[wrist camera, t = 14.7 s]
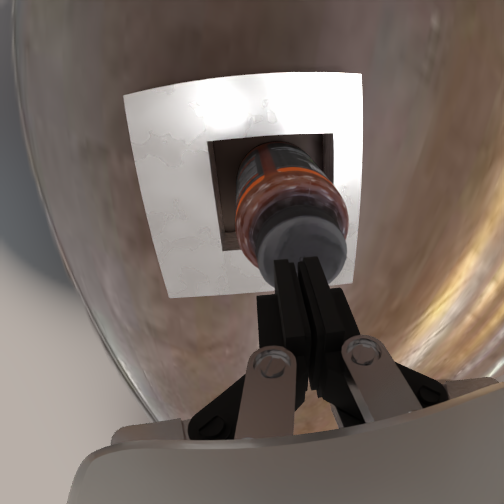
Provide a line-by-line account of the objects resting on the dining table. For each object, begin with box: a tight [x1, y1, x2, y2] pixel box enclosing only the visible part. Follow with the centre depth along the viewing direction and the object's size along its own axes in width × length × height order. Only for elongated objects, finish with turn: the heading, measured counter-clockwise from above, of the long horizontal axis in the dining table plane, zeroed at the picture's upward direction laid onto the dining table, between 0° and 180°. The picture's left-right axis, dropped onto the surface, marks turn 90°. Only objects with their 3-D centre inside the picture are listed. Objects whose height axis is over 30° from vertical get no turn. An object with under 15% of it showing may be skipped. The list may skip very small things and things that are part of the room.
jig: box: [123, 72, 363, 298], centre depth 21 cm, size 15×16×3 cm
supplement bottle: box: [235, 142, 349, 288], centre depth 18 cm, size 6×6×11 cm
